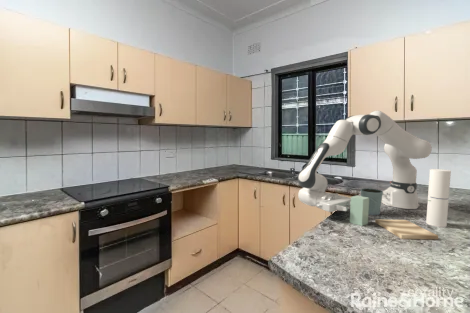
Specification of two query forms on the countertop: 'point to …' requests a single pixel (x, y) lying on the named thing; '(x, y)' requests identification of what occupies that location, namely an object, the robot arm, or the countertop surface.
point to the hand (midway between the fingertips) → (352, 207)
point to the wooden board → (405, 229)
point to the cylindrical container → (438, 197)
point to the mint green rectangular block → (359, 210)
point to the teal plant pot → (373, 199)
